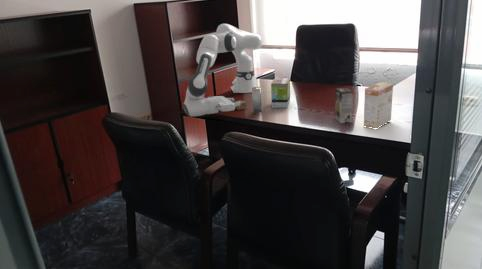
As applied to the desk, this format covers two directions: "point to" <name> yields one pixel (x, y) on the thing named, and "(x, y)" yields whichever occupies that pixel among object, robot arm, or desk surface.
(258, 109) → the tin canister
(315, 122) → the desk surface
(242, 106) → the walnut coaster block
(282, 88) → the tea box
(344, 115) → the coffee box
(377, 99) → the coffeecake box
